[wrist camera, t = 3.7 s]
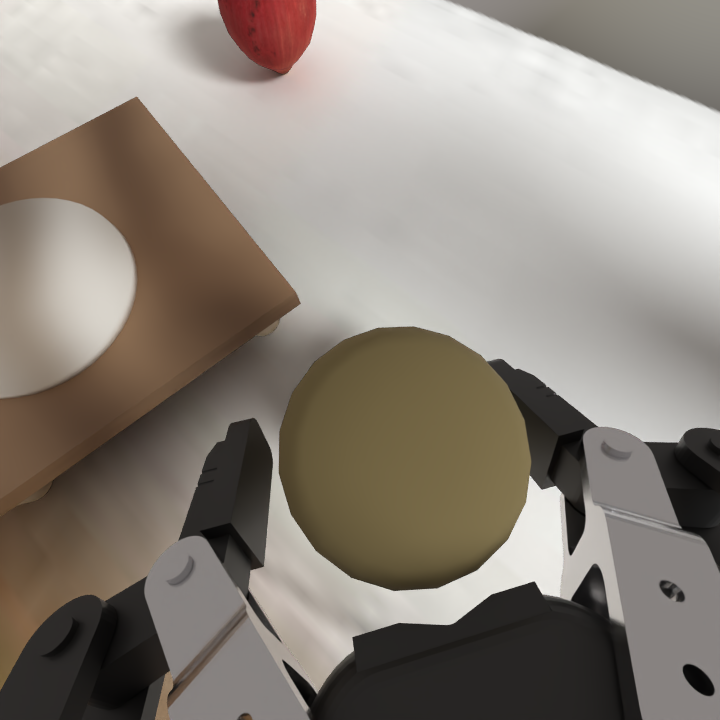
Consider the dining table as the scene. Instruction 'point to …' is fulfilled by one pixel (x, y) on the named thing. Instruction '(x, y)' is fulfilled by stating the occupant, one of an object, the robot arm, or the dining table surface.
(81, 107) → the dining table surface
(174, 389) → the wooden stand
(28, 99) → the dining table surface
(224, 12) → the onion
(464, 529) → the olive pepper mill
